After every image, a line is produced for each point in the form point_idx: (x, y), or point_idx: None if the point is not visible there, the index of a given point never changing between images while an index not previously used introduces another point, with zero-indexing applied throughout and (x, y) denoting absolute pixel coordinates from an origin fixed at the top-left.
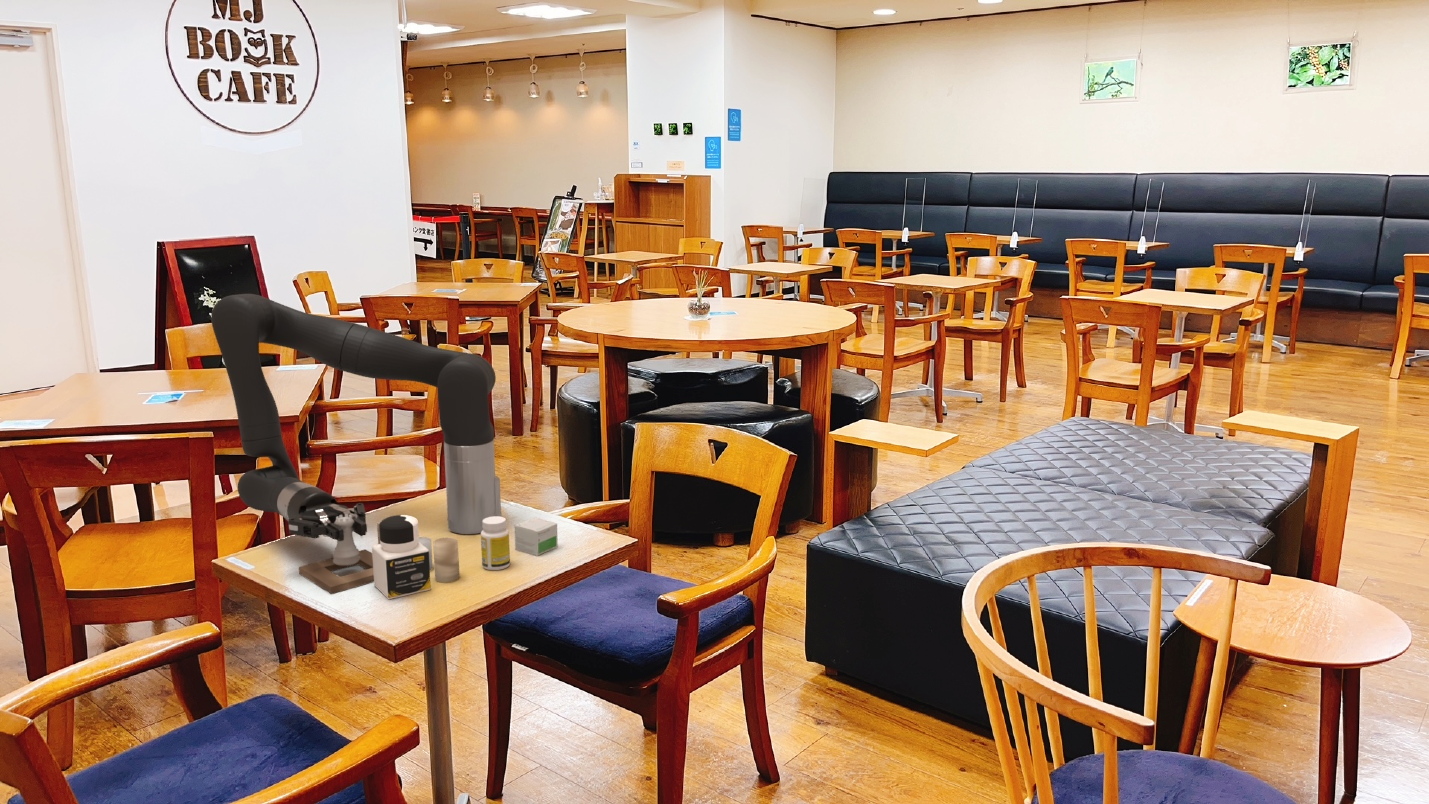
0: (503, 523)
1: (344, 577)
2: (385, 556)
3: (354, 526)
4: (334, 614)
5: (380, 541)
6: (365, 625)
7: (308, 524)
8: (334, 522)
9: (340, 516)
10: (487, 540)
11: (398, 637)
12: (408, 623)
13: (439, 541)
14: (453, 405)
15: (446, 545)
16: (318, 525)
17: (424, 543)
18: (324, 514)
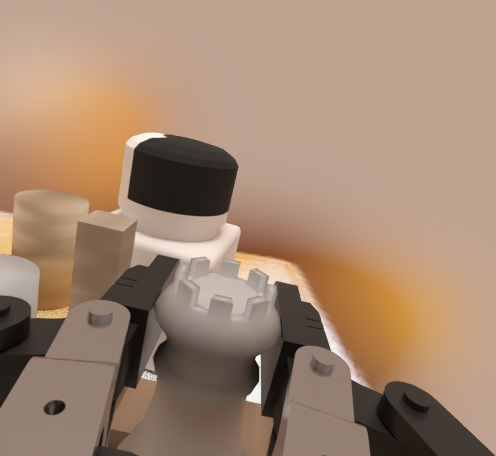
0: None
1: (246, 441)
2: (236, 229)
3: (154, 326)
4: (338, 352)
5: (224, 216)
6: (304, 300)
7: (465, 429)
8: (274, 335)
9: (228, 304)
10: None
11: (283, 264)
12: (250, 269)
13: (58, 205)
14: None
15: (80, 196)
16: (375, 416)
17: (10, 258)
18: (305, 434)
